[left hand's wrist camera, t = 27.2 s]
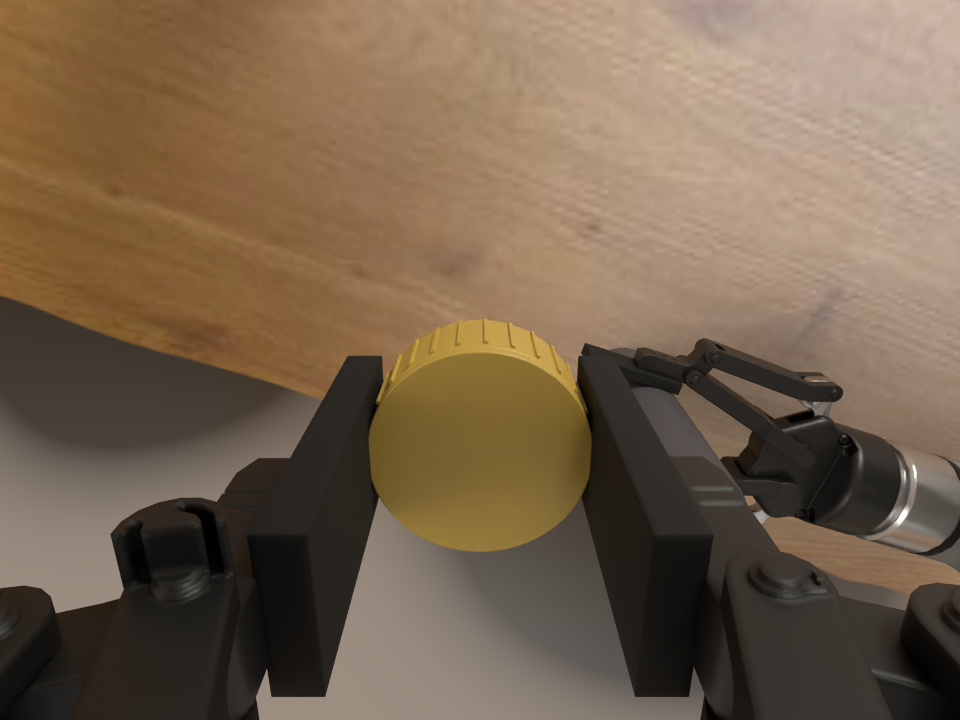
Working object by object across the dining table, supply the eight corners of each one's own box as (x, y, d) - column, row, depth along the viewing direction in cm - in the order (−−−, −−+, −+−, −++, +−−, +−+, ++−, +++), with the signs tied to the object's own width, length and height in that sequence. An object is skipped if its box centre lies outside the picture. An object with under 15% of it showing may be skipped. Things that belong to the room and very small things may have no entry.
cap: (410, 517, 15) (400, 573, 13) (352, 343, 14) (332, 378, 12) (597, 478, 15) (614, 530, 13) (559, 295, 13) (572, 324, 12)
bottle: (573, 366, 50) (653, 580, 27) (639, 336, 49) (783, 530, 26) (601, 423, 52) (699, 671, 29) (665, 395, 51) (822, 626, 28)
